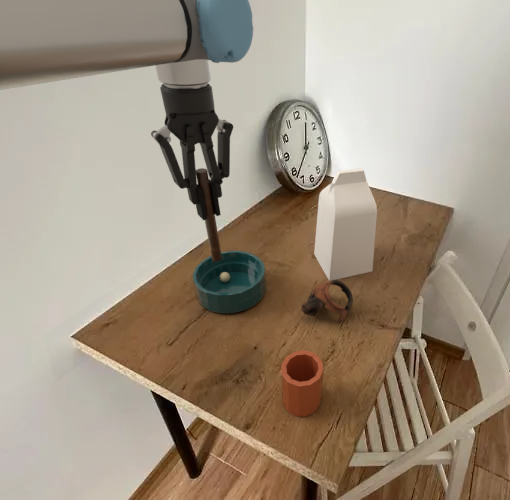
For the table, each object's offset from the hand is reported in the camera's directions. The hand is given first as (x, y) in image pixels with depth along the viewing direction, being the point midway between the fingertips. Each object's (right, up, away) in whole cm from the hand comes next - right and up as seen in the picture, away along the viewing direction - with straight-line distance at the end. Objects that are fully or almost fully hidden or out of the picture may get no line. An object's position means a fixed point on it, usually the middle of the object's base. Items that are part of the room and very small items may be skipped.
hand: (209, 214), depth 69 cm
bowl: (0, -16, +14) cm, 22 cm away
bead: (-2, -14, +16) cm, 21 cm away
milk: (+26, -10, +25) cm, 38 cm away
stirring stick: (-1, -9, +6) cm, 11 cm away
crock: (+19, -33, -7) cm, 38 cm away
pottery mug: (+22, -21, +11) cm, 32 cm away
